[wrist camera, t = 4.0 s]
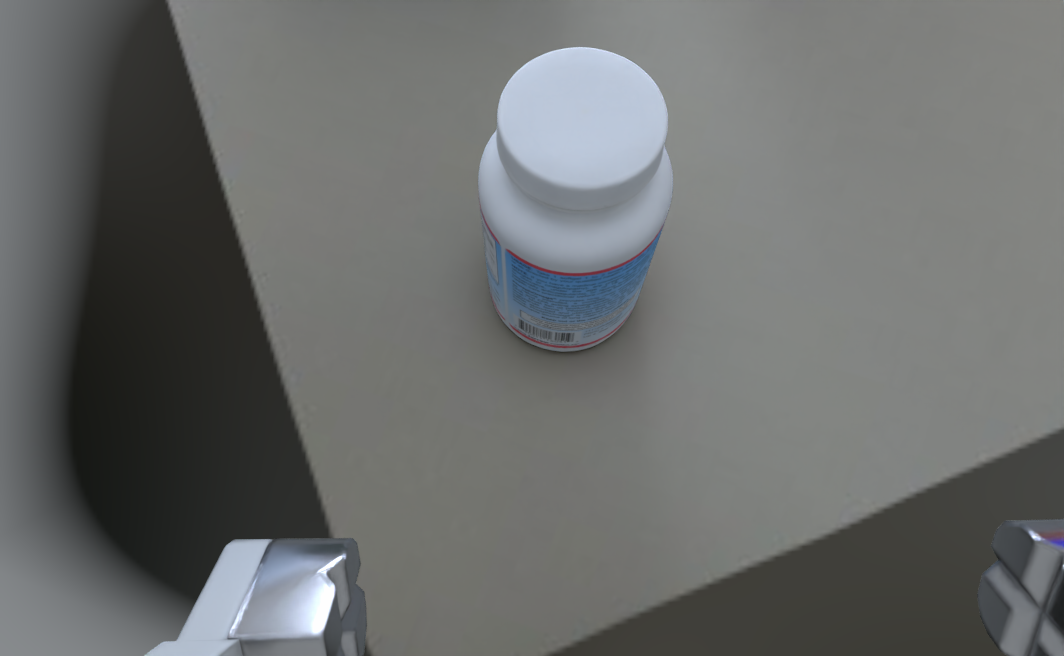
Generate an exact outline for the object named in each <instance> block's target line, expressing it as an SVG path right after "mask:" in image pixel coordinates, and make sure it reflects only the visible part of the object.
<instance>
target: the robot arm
mask: <svg viewBox="0 0 1064 656" xmlns="http://www.w3.org/2000/svg"><path fill="white" fill-rule="evenodd" d="M991 547H992V549H993V551H994V553H995V554H996V556H997V558H998V561H997V562H995V563H994V564H993V565H992V566H991V567H990V568H989V569H988V570H986V571H985V572H984V573H983V574H982V578H981V582H980V586H979V590H978V594H977V597H978V604H979V611H980V617H981V619H982V622H983V624H984V626H985V629H986V631H987V633H988V635H989V636H990V638H991V639H992V640H993V642H994V643H995V644H996V646H997V647H998V649H999V650H1000V651H1001V652H1003V653H1004V654H1006V655H1008V656H1064V519H1047V520H1017V521H1004V522H1003V523H1002V525H1001V526H1000V527H999V528H998V529H997V530H996V532H995V535H994V538H993V542H992V544H991ZM360 565H361V563H360V557H359V551H358V545H357V542H356V541H355V540H354V539H353V538H324V539H323V538H319V539H318V538H315V539H313V538H308V539H274V540H271V539H248V540H247V539H243V540H233V541H232V542H230V543H229V544H228V545H226V546H225V548H224V549H223V551H222V553H221V555H220V557H219V559H218V561H217V563H216V565H215V567H214V569H213V570H212V572H211V574H210V576H209V578H208V580H207V582H206V584H205V586H204V588H203V590H202V592H201V594H200V596H199V598H198V599H197V601H196V603H195V605H194V607H193V609H192V611H191V613H190V615H189V617H188V619H187V621H186V623H185V624H184V627H183V629H182V630H181V632H180V634H179V636H178V638H177V640H176V641H167V642H162V643H161V644H159V645H158V646H156V647H155V648H154V649H152V650H151V651H149V652H148V653H147V654H145V655H144V656H363V655H364V650H365V640H366V628H367V618H366V601H365V593H364V591H363V590H362V589H361V588H360V587H359V586H358V585H357V584H356V581H357V577H358V573H359V569H360Z"/></svg>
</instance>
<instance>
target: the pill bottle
mask: <svg viewBox="0 0 1064 656" xmlns="http://www.w3.org/2000/svg"><path fill="white" fill-rule="evenodd" d="M667 129H668V114H667V108H666V104H665V101H664V98H663V96H662V93H661V92H660V90H659V88H658V86H657V85H656V84H655V82H654V81H653V80H652V78H651V77H650V76H649V75H648V74H647V73H646V72H645V71H644V70H643V69H641V68H640V67H639V66H638V65H636V64H635V63H633V62H631V61H630V60H628V59H626V58H624V57H622V56H620V55H617V54H615V53H612V52H608V51H605V50H600V49H595V48H587V47H575V48H565V49H559V50H555V51H552V52H549V53H546V54H544V55H541V56H539V57H537V58H535V59H533V60H531V61H530V62H528V63H527V64H525V65H524V66H523V67H522V68H520V69H519V70H518V71H517V72H516V73H515V74H514V75H513V76H512V78H511V79H510V80H509V82H508V83H507V85H506V87H505V88H504V90H503V92H502V94H501V97H500V101H499V105H498V111H497V130H496V131H495V132H494V134H493V135H492V137H491V138H490V140H489V142H488V144H487V146H486V148H485V150H484V153H483V155H482V159H481V162H480V167H479V175H478V189H479V202H480V212H481V219H482V228H483V237H484V248H485V256H486V265H487V273H488V282H489V289H490V293H491V298H492V301H493V304H494V307H495V309H496V311H497V313H498V314H499V316H500V318H501V319H502V321H503V322H504V323H505V324H506V325H507V327H508V328H509V329H510V330H511V331H512V332H514V333H515V334H516V335H517V336H518V337H520V338H521V339H523V340H525V341H526V342H528V343H530V344H532V345H535V346H537V347H540V348H544V349H548V350H553V351H564V352H565V351H577V350H582V349H586V348H589V347H592V346H595V345H597V344H599V343H601V342H603V341H604V340H606V339H607V338H609V337H610V336H611V335H613V334H614V333H615V332H616V331H617V330H618V329H619V328H620V327H621V326H622V325H623V324H624V322H625V321H626V320H627V318H628V317H629V315H630V314H631V312H632V310H633V308H634V306H635V304H636V302H637V299H638V297H639V294H640V291H641V288H642V285H643V282H644V280H645V277H646V274H647V271H648V268H649V265H650V262H651V260H652V257H653V254H654V251H655V248H656V245H657V243H658V240H659V237H660V234H661V231H662V228H663V226H664V223H665V220H666V217H667V214H668V211H669V207H670V203H671V199H672V193H673V173H672V167H671V163H670V159H669V156H668V153H667V151H666V148H665V146H664V144H665V140H666V136H667Z"/></svg>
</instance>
